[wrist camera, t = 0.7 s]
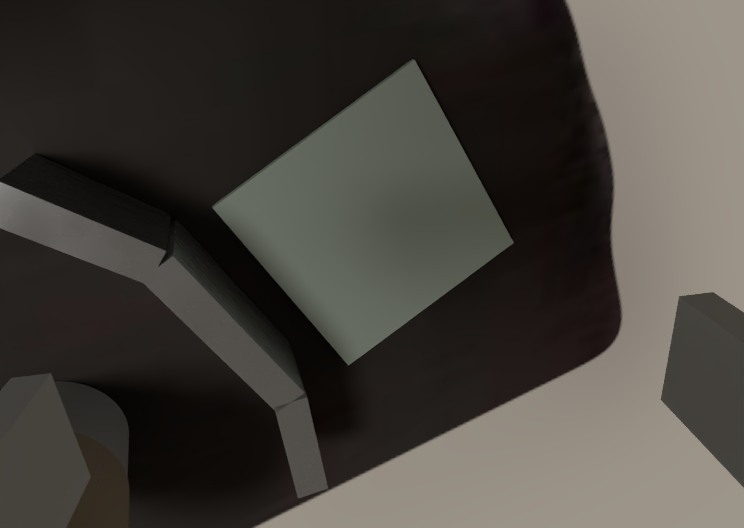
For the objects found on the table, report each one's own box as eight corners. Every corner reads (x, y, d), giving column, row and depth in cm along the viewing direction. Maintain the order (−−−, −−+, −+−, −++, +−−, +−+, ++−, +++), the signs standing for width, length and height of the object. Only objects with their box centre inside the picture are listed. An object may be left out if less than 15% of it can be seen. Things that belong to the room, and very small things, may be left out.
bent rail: (6, 173, 23) (-38, 205, 19) (84, 117, 23) (58, 136, 19) (290, 442, 33) (305, 505, 28) (344, 401, 33) (367, 458, 28)
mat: (212, 205, 26) (212, 207, 26) (411, 59, 26) (414, 59, 26) (346, 361, 32) (348, 365, 31) (510, 240, 32) (513, 242, 32)
